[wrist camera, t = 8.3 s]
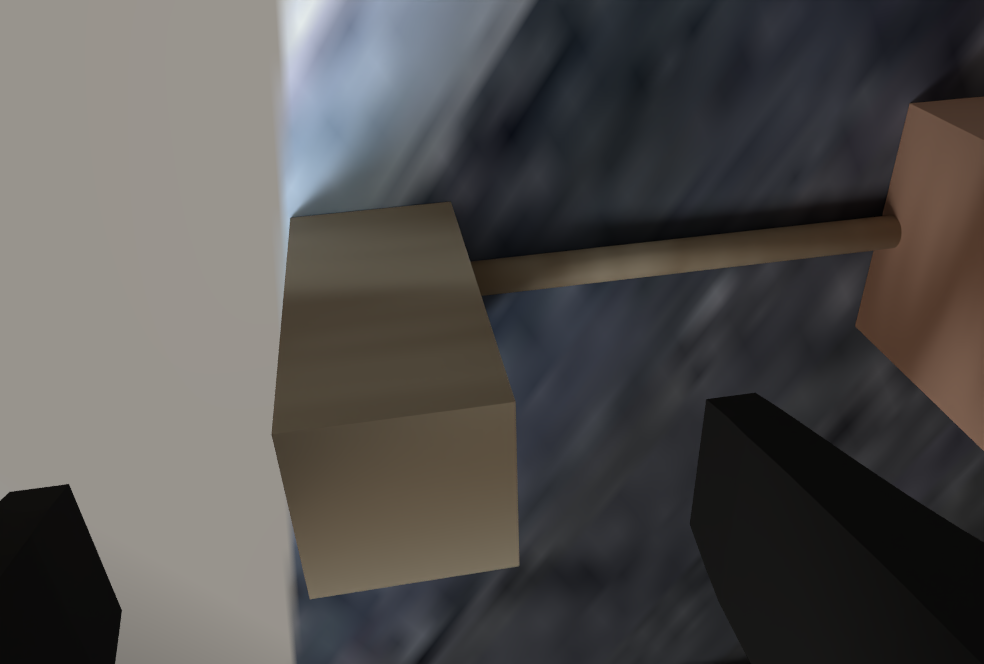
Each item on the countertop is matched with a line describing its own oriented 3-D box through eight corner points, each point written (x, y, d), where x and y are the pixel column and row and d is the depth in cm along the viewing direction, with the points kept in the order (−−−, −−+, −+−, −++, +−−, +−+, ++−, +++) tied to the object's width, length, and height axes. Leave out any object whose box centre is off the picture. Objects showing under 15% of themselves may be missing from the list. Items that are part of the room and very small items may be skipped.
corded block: (1056, 300, 17) (1327, 480, 12) (323, 394, 15) (321, 647, 10) (1143, 81, 14) (1521, 205, 10) (280, 161, 13) (254, 360, 8)
